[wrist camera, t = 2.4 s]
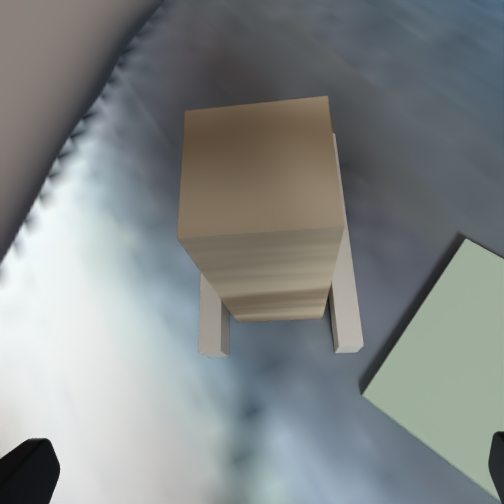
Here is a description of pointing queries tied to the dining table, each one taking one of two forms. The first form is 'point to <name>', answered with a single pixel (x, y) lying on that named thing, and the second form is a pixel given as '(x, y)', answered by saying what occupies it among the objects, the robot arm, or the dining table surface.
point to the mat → (452, 365)
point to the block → (262, 206)
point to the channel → (340, 298)
